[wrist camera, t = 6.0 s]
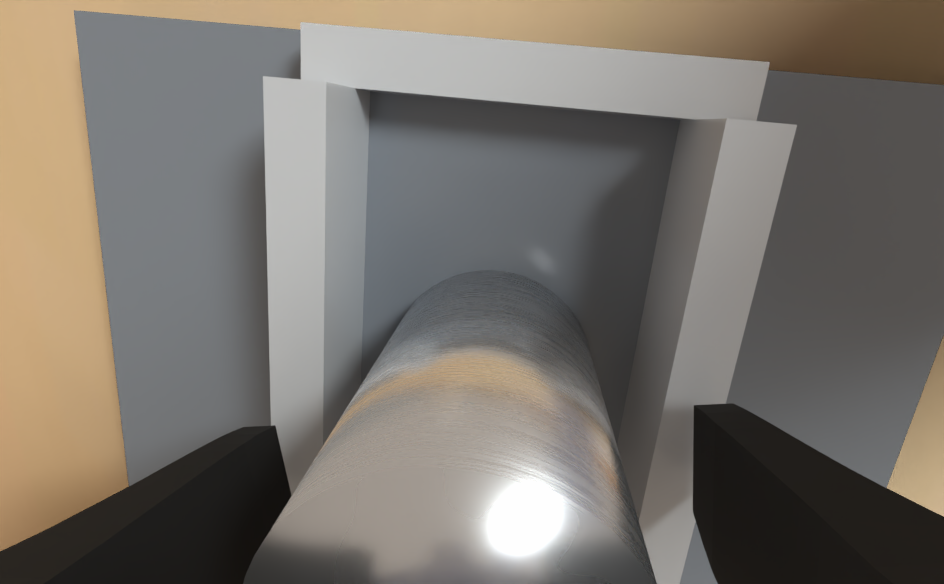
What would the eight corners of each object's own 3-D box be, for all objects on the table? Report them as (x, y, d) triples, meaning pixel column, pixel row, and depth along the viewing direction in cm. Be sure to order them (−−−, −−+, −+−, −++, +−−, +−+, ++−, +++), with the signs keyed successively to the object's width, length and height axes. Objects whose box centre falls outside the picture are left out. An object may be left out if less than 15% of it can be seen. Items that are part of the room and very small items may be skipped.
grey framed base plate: (980, 96, 11) (1200, 82, 7) (793, 634, 15) (876, 790, 12) (116, 21, 12) (-54, -22, 8) (166, 542, 16) (66, 660, 13)
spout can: (581, 258, 11) (724, 597, 3) (597, 444, 13) (730, 1025, 4) (376, 282, 12) (59, 620, 4) (410, 457, 13) (228, 997, 5)
